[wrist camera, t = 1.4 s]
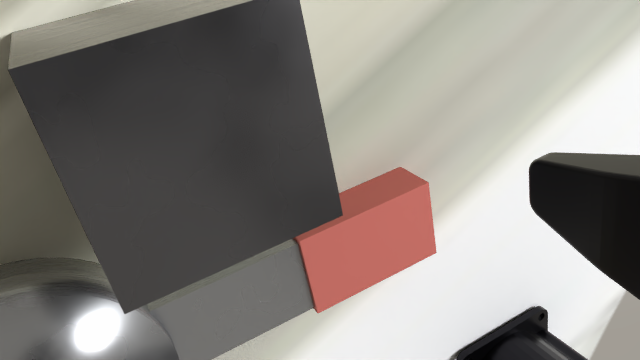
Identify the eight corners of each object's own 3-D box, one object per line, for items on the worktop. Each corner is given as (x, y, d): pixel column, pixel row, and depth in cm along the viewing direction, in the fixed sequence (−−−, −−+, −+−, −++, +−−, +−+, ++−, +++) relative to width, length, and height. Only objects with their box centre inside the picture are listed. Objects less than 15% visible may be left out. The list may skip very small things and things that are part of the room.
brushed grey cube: (219, -23, 18) (296, -13, 13) (266, 152, 21) (343, 215, 16) (11, 32, 16) (7, 69, 11) (96, 218, 19) (124, 314, 14)
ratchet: (392, 110, 23) (485, 149, 18) (415, 278, 27) (495, 343, 22) (-183, 336, 16) (-263, 486, 11) (-33, 512, 20) (-48, 674, 16)
